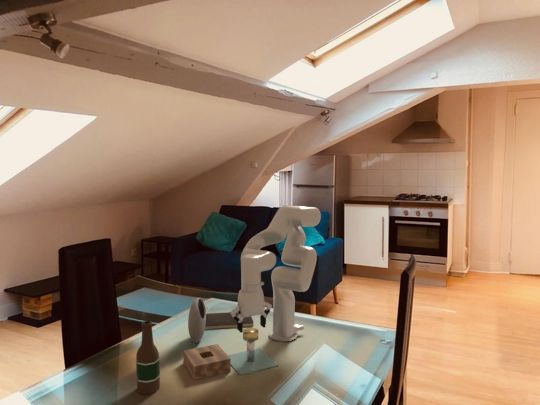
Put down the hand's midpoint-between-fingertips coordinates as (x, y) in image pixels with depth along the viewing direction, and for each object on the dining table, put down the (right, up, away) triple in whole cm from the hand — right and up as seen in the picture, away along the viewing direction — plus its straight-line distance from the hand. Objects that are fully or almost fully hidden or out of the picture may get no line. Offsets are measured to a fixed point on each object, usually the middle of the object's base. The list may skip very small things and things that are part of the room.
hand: (251, 328), depth 170 cm
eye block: (-17, -13, -4) cm, 22 cm away
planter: (-24, -11, +19) cm, 33 cm away
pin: (-1, -13, +1) cm, 13 cm away
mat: (-1, -13, +1) cm, 13 cm away
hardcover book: (-13, -9, +41) cm, 44 cm away
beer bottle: (-35, -15, -20) cm, 43 cm away
